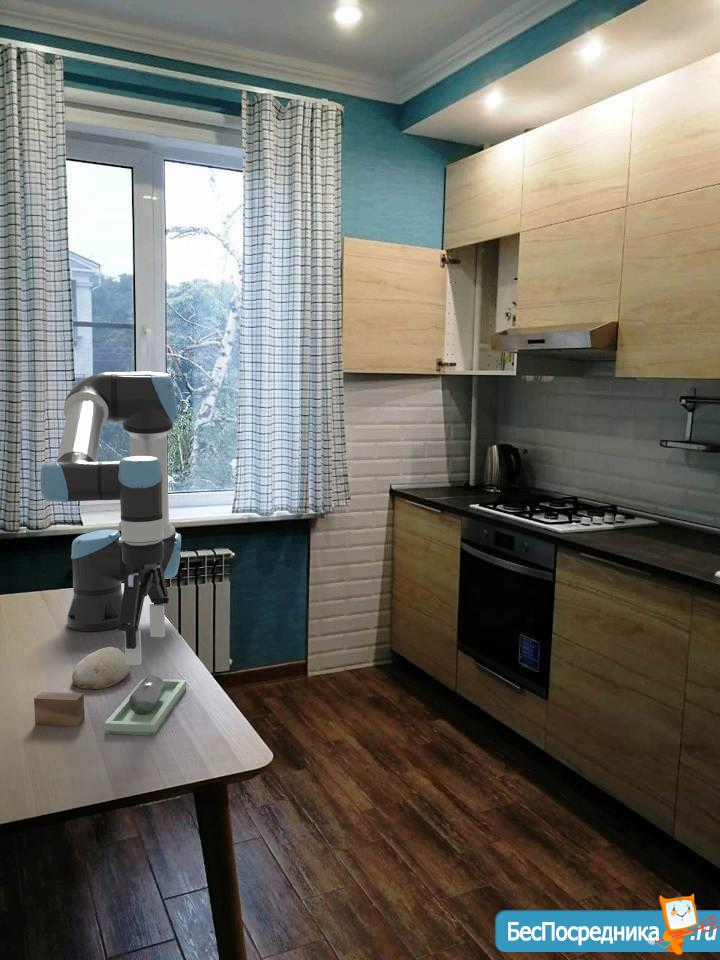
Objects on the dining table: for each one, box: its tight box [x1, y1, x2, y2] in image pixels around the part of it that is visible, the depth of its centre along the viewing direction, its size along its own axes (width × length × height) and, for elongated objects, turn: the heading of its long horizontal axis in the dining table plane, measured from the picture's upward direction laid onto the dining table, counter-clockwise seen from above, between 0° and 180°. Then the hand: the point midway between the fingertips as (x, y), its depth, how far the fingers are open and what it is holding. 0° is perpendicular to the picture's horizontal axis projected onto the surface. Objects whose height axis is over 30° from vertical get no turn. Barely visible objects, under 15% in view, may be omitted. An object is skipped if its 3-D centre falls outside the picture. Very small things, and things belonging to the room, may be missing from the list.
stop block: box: [33, 691, 86, 727], centre depth 142 cm, size 3×8×5 cm, turn 87°
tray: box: [103, 678, 187, 737], centre depth 147 cm, size 20×9×2 cm, turn 176°
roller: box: [129, 675, 166, 715], centre depth 147 cm, size 5×7×5 cm
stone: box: [71, 646, 132, 690], centre depth 162 cm, size 13×10×8 cm
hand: (146, 649), depth 146 cm, fingers open, 13 cm apart
